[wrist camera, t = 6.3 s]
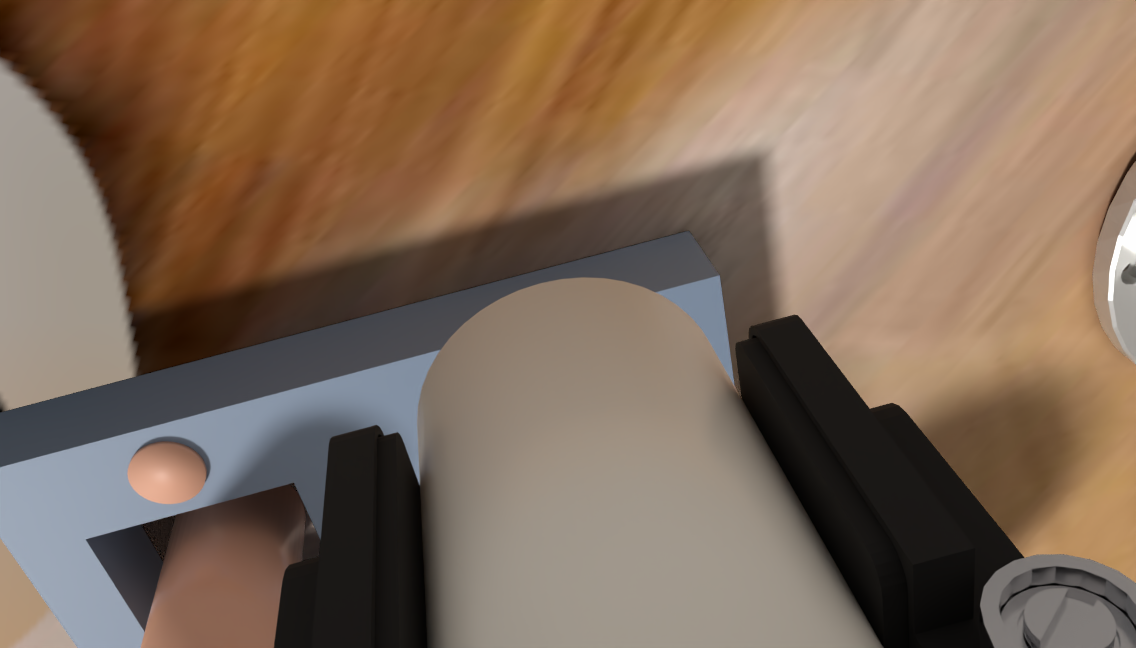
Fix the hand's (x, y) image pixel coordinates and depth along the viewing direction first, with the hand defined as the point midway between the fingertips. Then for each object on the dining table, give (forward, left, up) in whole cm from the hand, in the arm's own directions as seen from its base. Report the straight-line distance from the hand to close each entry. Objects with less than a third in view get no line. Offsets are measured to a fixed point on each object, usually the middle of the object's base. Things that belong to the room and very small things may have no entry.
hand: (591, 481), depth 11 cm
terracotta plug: (+11, +12, -17) cm, 23 cm away
